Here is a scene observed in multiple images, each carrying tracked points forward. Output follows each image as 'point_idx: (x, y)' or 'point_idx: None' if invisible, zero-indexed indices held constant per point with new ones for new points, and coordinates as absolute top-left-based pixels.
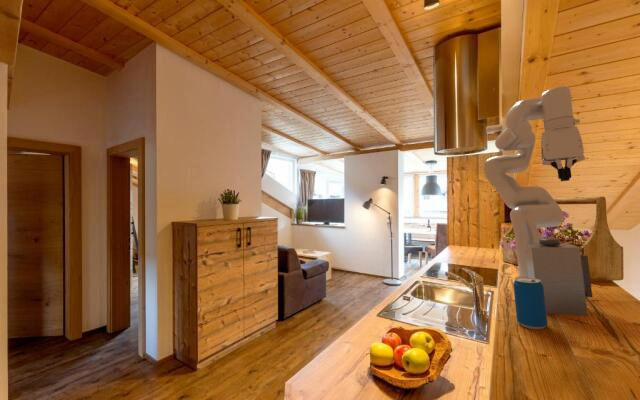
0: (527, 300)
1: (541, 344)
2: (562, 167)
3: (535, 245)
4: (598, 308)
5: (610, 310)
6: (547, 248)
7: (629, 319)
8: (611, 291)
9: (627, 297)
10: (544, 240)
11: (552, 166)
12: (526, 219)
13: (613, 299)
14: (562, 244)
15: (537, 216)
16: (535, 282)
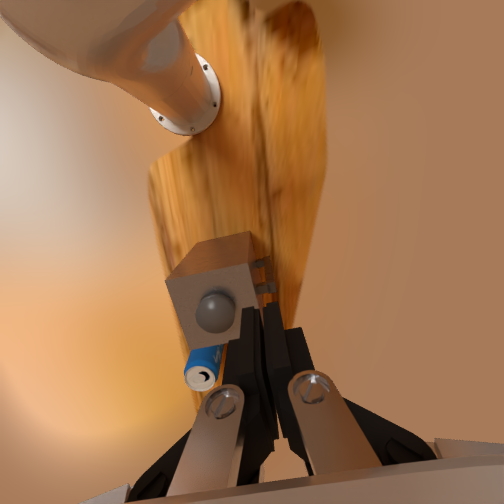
0: (204, 374)
1: (222, 378)
2: (264, 447)
3: (192, 316)
4: (276, 239)
5: (288, 242)
6: (216, 344)
7: (300, 271)
8: (308, 110)
9: (322, 150)
10: (207, 330)
11: (168, 452)
12: (102, 74)
13: (301, 175)
14: (239, 292)
15: (137, 36)
16: (210, 387)
